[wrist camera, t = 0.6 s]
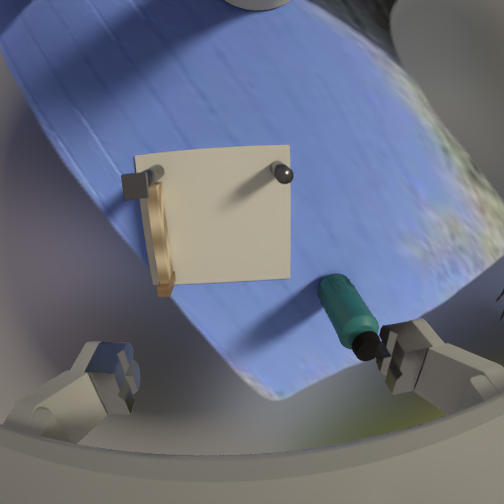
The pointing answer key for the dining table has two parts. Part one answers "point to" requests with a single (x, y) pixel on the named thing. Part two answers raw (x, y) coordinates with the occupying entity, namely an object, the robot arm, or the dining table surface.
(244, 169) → the mat
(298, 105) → the dining table surface
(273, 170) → the post
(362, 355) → the beverage bottle
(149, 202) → the gate
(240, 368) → the dining table surface
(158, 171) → the gate post
